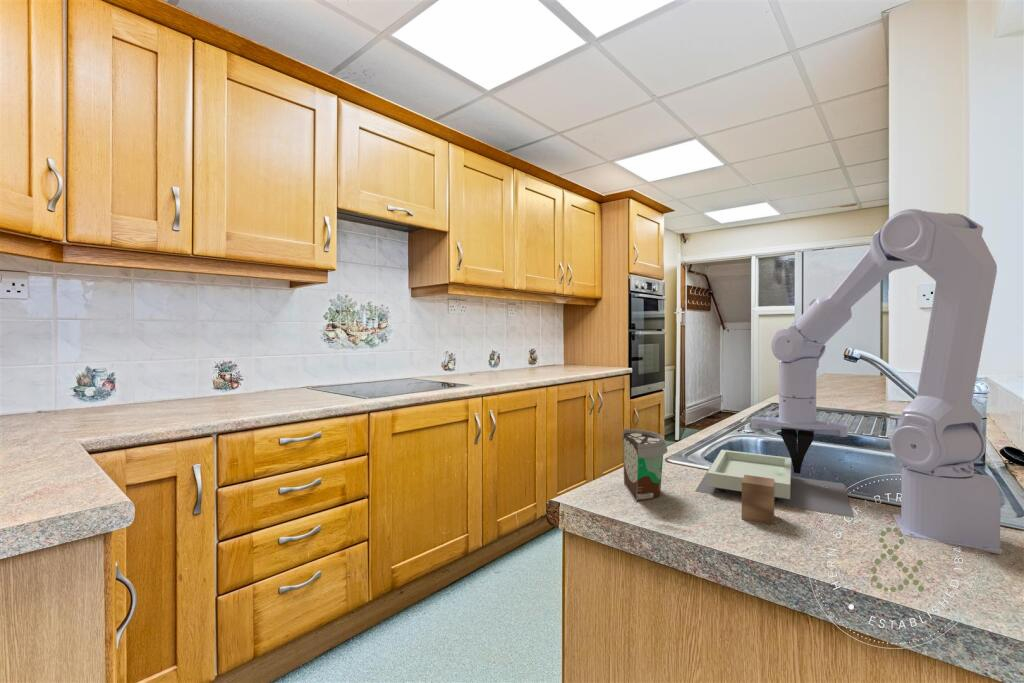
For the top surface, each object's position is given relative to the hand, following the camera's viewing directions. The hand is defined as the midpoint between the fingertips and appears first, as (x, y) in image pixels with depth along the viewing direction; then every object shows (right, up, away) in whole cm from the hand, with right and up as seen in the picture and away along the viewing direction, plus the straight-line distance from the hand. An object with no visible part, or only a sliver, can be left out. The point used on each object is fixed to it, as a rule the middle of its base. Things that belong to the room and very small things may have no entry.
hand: (796, 471), depth 83 cm
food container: (-28, -3, -3) cm, 28 cm away
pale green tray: (-9, -2, -1) cm, 9 cm away
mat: (-6, -3, -2) cm, 7 cm away
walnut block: (-15, -3, -15) cm, 21 cm away
